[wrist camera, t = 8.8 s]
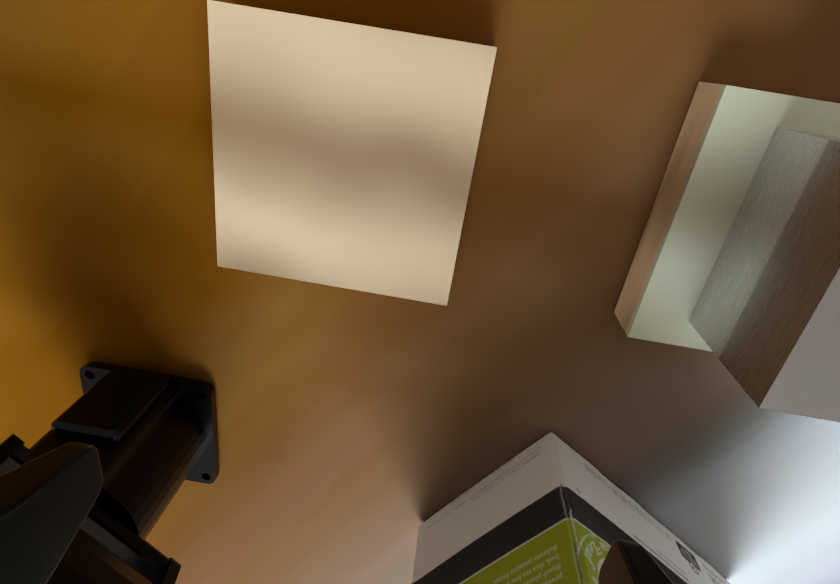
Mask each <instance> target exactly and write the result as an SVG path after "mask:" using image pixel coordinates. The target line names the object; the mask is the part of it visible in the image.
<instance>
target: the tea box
mask: <svg viewBox="0 0 840 584" xmlns="http://www.w3.org/2000/svg"><path fill="white" fill-rule="evenodd" d="M616 540H625V541H630V542H636V543H639V544H640V545H642V546H643V547H644V548H645V549H646V550H647V552H648V553H649V554H650V555H651V557H652V558H653V559H654V560H655V561H656V563H657V564H658V565H659V566H660V568H661V569H662V570H663V571H664V573H665V574H666V575H667V576H668V577H669V579H670V580H671V581H672V582H673V584H730V583H729V582H728V581H727V580H726V579H724V578H723V577H722V576H721V575H720V574H719V573H718V572H717V571H716V570H715V569H714V568H713V567H712V566H710V565H709V564H708V563H707V562H706V561H705V560H703V559H702V558H701V557H700V556H698V555H697V554H696V553H695V552H693V551H692V550H691V549H690V548H689V547H688V546H686V545H685V544H684V543H683V542H682V541H681V540H680V539H679V538H678V537H677V536H675V535H674V534H673V533H672V532H671V531H669V530H668V529H667V528H666V527H664V526H663V525H662V524H660V523H659V522H658V521H657V520H655V519H654V518H653V517H652V516H651V515H650V514H648V513H647V512H646V511H645V510H644V509H643V508H642V507H641V506H640V505H639V504H638V503H637V502H635V501H634V500H633V499H632V498H631V497H629V496H628V495H627V494H626V493H625V492H623V491H622V490H620V489H619V488H618V487H616V486H615V485H614V484H613V483H612V482H610V481H609V480H608V479H607V478H606V477H605V476H603V475H602V474H601V473H600V472H599V471H598V470H597V469H596V468H595V467H594V466H593V465H592V464H590V463H589V462H588V461H587V460H586V459H584V458H583V457H582V456H581V455H579V454H578V453H577V452H575V451H574V450H573V449H571V448H570V447H569V446H568V445H567V444H565V443H564V442H563V441H562V440H561V439H559V438H558V437H557V436H556V435H555V434H554V433H552V432H550V433H548V434H547V435H545V436H544V437H542V438H541V439H539V440H538V441H537V442H535V443H534V444H532V445H531V446H529V447H528V448H526V449H525V450H523V451H522V452H521V453H519V454H518V455H516V456H515V457H513V458H512V459H511V460H509V461H508V462H506V463H505V464H504V465H502V466H501V467H499V468H498V469H497V470H495V471H494V472H492V473H491V474H490V475H488V476H487V477H485V478H484V479H482V480H481V481H480V482H478V483H477V484H475V485H474V486H473V487H471V488H470V489H468V490H467V491H466V492H464V493H463V494H461V495H460V496H458V497H457V498H456V499H454V500H453V501H452V502H450V503H449V504H447V505H446V506H445V507H443V508H442V509H441V510H439V511H438V512H437V513H435V514H434V515H433V516H431V517H430V518H429V519H427V520H426V521H425V522H424V523H422V524H421V525H420V526H419V531H418V540H417V548H416V556H415V564H414V573H413V582H412V584H599V571H600V568H601V566H602V564H603V562H604V560H605V558H606V555H607V553H608V551H609V549H610V547H611V545H612V543H613V542H614V541H616Z"/></svg>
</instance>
